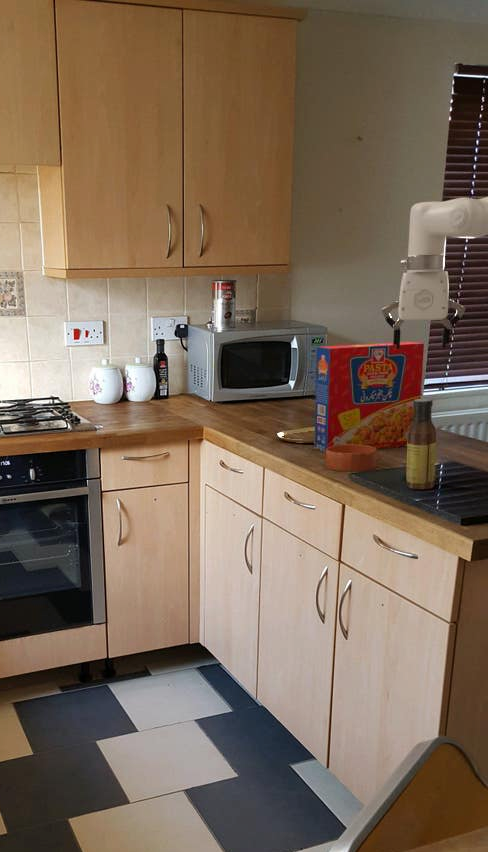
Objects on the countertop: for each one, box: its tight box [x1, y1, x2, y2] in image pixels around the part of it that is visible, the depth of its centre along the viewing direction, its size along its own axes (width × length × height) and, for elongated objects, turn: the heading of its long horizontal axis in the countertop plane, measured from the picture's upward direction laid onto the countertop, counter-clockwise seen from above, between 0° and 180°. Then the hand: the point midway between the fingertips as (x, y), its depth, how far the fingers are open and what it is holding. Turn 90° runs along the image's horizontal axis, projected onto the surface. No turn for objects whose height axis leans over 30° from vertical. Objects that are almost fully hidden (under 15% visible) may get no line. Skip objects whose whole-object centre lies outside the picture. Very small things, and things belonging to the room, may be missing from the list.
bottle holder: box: [324, 444, 378, 472], centre depth 222 cm, size 13×13×4 cm
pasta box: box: [313, 341, 425, 452], centre depth 242 cm, size 28×8×28 cm, turn 106°
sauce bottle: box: [405, 398, 437, 491], centre depth 195 cm, size 6×6×20 cm
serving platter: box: [276, 426, 315, 443], centre depth 265 cm, size 19×35×2 cm, turn 120°
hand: (420, 347), depth 191 cm, fingers open, 9 cm apart
